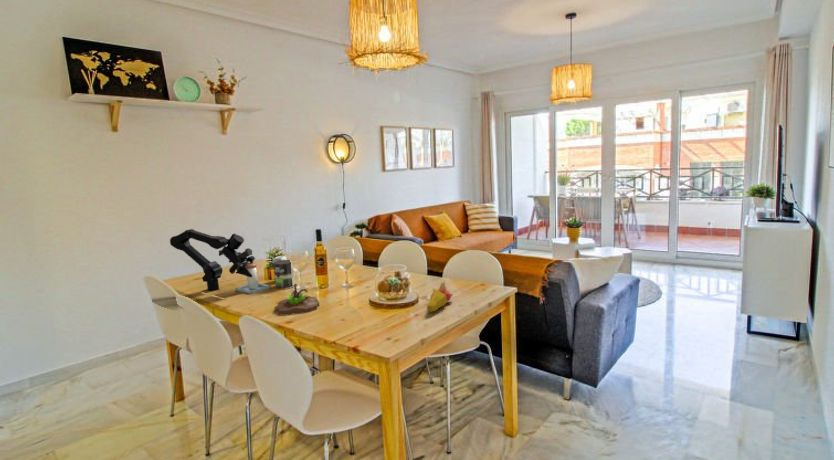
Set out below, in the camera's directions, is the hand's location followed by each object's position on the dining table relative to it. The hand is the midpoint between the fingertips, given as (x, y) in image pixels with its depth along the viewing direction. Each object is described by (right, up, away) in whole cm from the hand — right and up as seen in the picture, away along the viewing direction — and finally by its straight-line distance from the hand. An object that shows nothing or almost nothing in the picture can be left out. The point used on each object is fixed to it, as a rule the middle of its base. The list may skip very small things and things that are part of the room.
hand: (254, 275), depth 246 cm
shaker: (-1, -7, +1) cm, 7 cm away
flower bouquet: (+96, -10, -39) cm, 104 cm away
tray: (-1, -8, +1) cm, 9 cm away
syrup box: (+10, -6, +17) cm, 20 cm away
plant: (+31, -12, -30) cm, 45 cm away
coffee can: (+15, -7, +6) cm, 17 cm away
